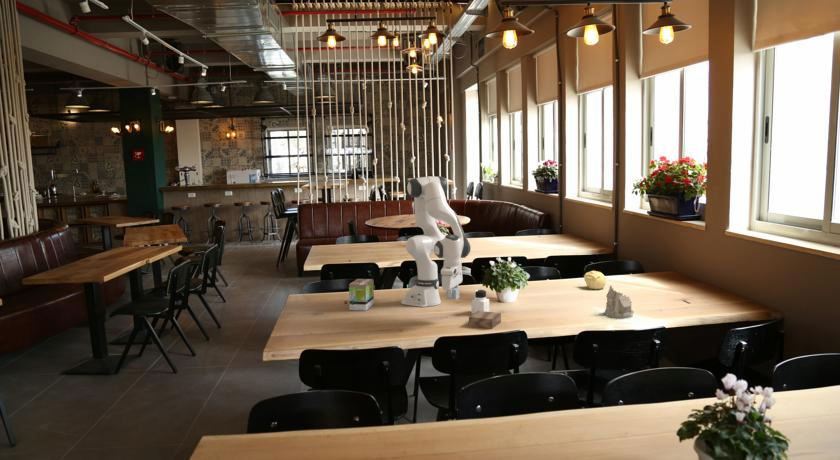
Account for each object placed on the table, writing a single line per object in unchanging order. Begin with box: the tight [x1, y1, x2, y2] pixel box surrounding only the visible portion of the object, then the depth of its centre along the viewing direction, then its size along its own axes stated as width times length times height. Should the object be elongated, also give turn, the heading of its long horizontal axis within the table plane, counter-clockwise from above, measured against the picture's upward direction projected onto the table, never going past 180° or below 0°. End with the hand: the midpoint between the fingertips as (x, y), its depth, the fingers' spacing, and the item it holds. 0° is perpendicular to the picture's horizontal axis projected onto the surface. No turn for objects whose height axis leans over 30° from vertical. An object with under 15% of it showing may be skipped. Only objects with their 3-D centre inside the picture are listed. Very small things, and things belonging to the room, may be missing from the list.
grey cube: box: [445, 287, 460, 301], centre depth 304 cm, size 5×5×5 cm
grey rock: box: [604, 285, 635, 320], centre depth 310 cm, size 16×16×15 cm
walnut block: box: [468, 311, 502, 330], centre depth 298 cm, size 12×12×5 cm
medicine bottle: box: [470, 289, 490, 315], centre depth 319 cm, size 7×7×12 cm
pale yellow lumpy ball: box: [583, 270, 607, 290], centre depth 367 cm, size 12×12×11 cm
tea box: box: [348, 278, 375, 312], centre depth 337 cm, size 15×10×15 cm
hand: (452, 295), depth 304 cm, fingers closed on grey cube, 5 cm apart
